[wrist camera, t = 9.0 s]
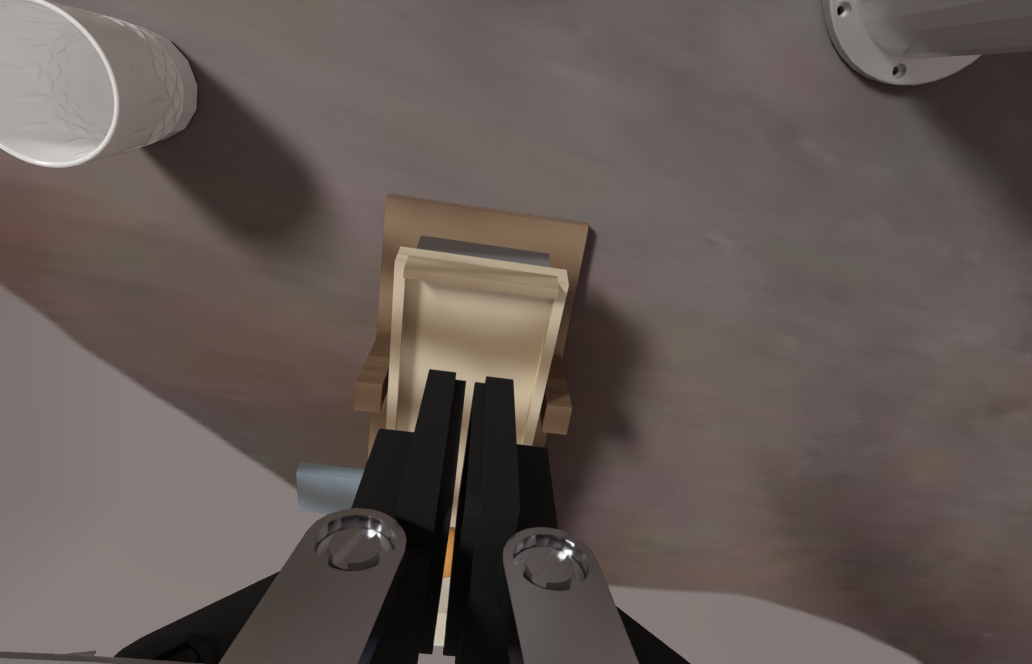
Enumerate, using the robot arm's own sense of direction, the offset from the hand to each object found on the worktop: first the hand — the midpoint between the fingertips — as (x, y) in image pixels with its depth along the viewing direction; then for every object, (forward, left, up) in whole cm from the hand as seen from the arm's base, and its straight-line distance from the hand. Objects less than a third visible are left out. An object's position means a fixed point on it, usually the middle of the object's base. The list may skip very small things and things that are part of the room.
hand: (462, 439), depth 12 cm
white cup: (+18, -14, -32) cm, 40 cm away
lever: (+9, +10, -28) cm, 31 cm away
